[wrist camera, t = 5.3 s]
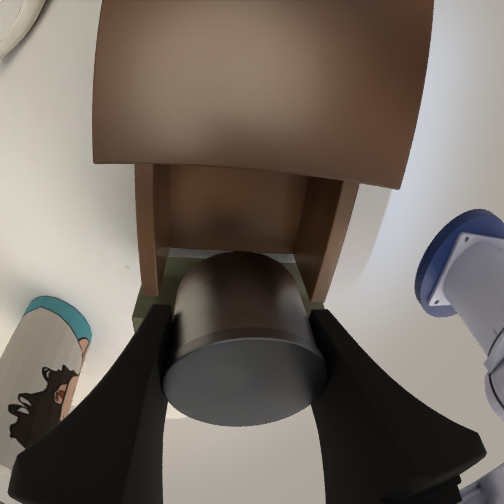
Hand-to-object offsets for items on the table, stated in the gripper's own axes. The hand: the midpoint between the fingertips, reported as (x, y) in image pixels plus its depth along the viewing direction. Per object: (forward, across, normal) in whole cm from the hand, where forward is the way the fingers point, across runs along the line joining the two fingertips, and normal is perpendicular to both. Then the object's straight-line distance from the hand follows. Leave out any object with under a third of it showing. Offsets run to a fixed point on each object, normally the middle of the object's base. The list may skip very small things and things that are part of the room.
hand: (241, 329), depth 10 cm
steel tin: (+1, 0, 0) cm, 1 cm away
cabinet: (+10, 0, -12) cm, 16 cm away
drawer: (+9, 0, -2) cm, 10 cm away
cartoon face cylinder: (+10, +15, +12) cm, 22 cm away
